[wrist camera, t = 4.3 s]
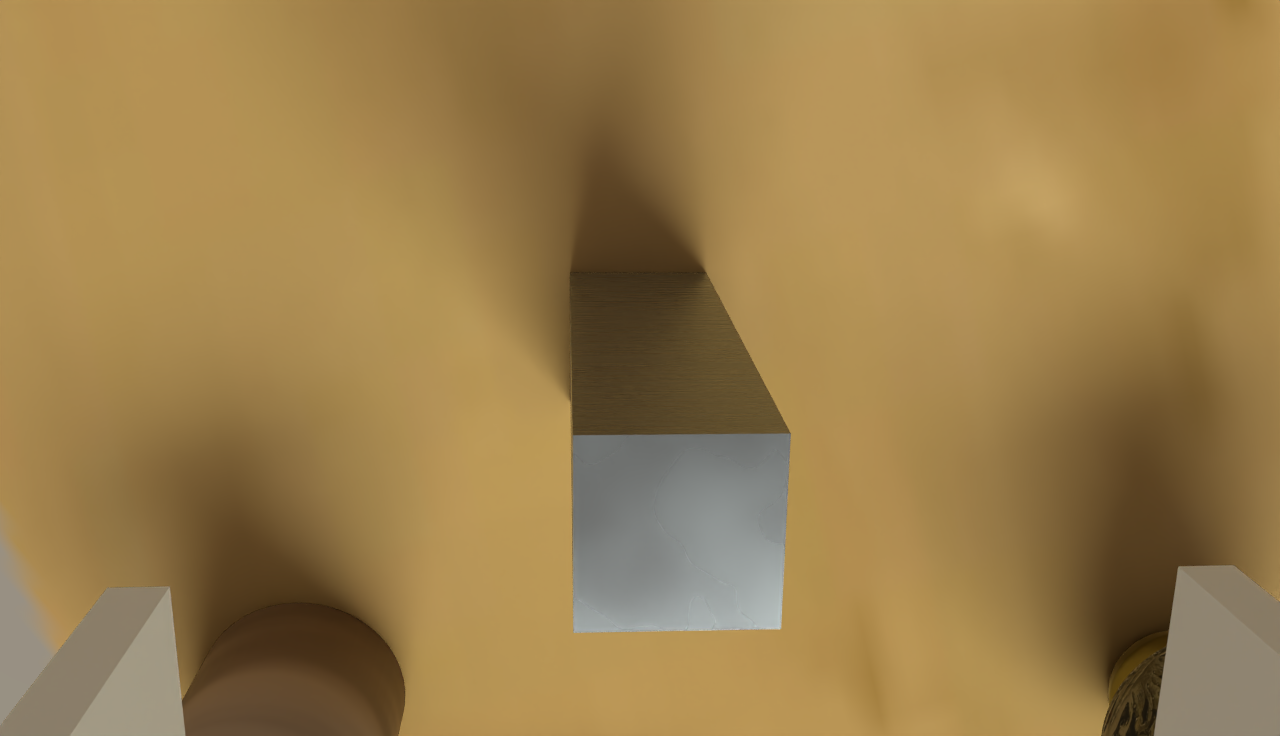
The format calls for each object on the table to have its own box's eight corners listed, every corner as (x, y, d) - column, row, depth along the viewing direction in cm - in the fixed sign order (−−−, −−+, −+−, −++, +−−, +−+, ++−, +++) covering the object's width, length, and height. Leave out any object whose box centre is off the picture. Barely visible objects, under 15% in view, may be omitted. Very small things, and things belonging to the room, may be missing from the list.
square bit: (569, 273, 30) (572, 435, 19) (705, 272, 31) (790, 433, 19) (570, 403, 31) (573, 632, 20) (702, 402, 32) (780, 628, 20)
